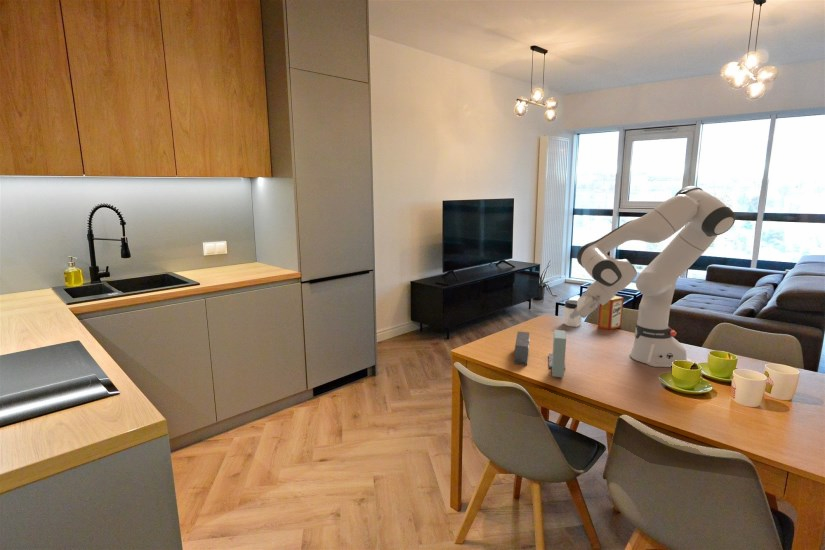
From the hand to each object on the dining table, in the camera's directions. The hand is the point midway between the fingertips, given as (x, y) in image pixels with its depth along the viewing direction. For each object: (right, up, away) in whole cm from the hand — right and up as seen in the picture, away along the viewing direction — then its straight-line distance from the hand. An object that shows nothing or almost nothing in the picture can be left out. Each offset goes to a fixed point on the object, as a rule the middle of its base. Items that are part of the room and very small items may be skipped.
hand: (570, 317), depth 175 cm
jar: (+20, -9, +54) cm, 59 cm away
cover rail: (-4, -19, +5) cm, 20 cm away
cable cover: (-7, -20, -6) cm, 22 cm away
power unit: (-17, -18, +12) cm, 27 cm away
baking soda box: (+37, -10, +49) cm, 63 cm away
